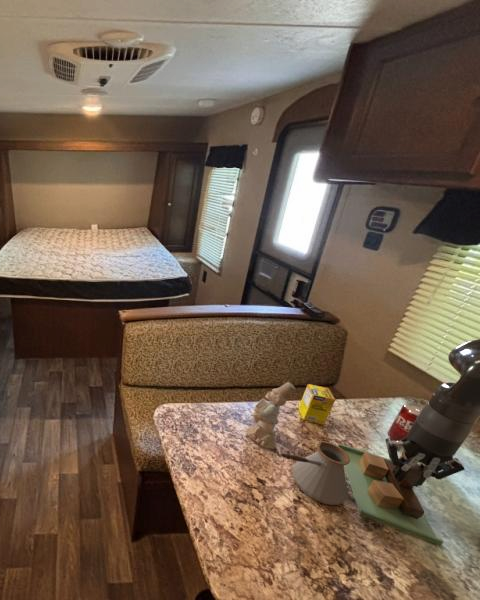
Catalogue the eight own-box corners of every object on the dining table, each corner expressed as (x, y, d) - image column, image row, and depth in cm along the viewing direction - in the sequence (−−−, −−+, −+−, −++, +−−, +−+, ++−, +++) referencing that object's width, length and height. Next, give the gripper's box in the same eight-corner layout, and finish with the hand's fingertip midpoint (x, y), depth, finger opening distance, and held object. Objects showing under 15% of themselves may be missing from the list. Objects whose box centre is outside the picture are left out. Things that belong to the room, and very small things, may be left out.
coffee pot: (315, 465, 86) (334, 424, 80) (355, 507, 76) (381, 463, 70) (246, 476, 82) (261, 434, 76) (278, 521, 72) (299, 476, 66)
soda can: (416, 456, 91) (437, 424, 86) (383, 439, 96) (401, 409, 91) (420, 443, 95) (440, 413, 90) (388, 428, 100) (405, 399, 95)
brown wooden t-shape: (394, 471, 83) (409, 447, 80) (418, 520, 72) (438, 494, 68) (379, 467, 84) (394, 442, 81) (401, 514, 73) (420, 488, 69)
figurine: (280, 438, 95) (302, 384, 87) (273, 454, 89) (295, 399, 81) (249, 422, 100) (266, 370, 92) (240, 436, 95) (258, 383, 87)
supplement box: (323, 427, 100) (336, 399, 95) (302, 421, 101) (313, 395, 97) (317, 414, 105) (329, 387, 100) (296, 409, 106) (307, 383, 102)
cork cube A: (377, 468, 85) (383, 458, 84) (382, 480, 82) (389, 469, 80) (358, 462, 87) (364, 452, 85) (363, 474, 83) (369, 463, 82)
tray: (397, 468, 87) (401, 463, 86) (438, 548, 68) (443, 542, 67) (336, 448, 92) (339, 443, 91) (358, 517, 74) (362, 511, 73)
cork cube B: (385, 494, 78) (392, 483, 77) (396, 510, 75) (404, 499, 73) (367, 490, 79) (373, 480, 77) (377, 506, 75) (384, 495, 74)
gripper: (407, 427, 69) (374, 481, 76) (496, 452, 64) (452, 508, 71) (393, 406, 75) (364, 457, 82) (473, 427, 70) (435, 480, 77)
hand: (405, 480), depth 76 cm, fingers closed on brown wooden t-shape, 2 cm apart
